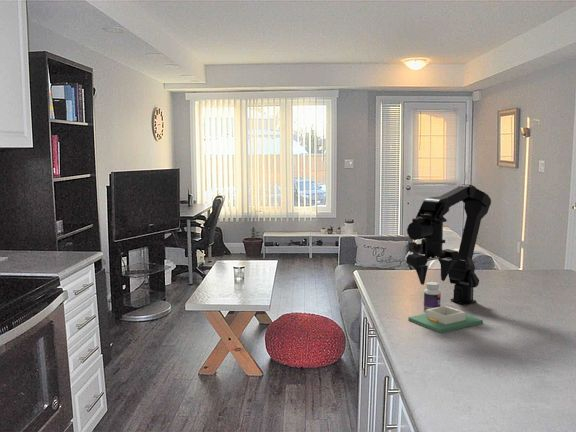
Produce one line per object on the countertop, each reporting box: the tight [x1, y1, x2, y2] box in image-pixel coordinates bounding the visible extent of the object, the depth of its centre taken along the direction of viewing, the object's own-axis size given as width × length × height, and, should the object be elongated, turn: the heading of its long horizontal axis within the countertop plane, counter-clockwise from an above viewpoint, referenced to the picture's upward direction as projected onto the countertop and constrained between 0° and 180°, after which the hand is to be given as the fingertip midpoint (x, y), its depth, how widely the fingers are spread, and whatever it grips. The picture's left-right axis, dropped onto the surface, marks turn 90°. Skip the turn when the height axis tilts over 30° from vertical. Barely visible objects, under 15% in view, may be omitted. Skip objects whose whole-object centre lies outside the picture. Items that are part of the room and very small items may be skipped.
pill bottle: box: [423, 281, 442, 313], centre depth 181 cm, size 5×5×10 cm
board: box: [407, 305, 484, 334], centre depth 171 cm, size 18×14×4 cm
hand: (432, 282), depth 181 cm, fingers open, 9 cm apart
